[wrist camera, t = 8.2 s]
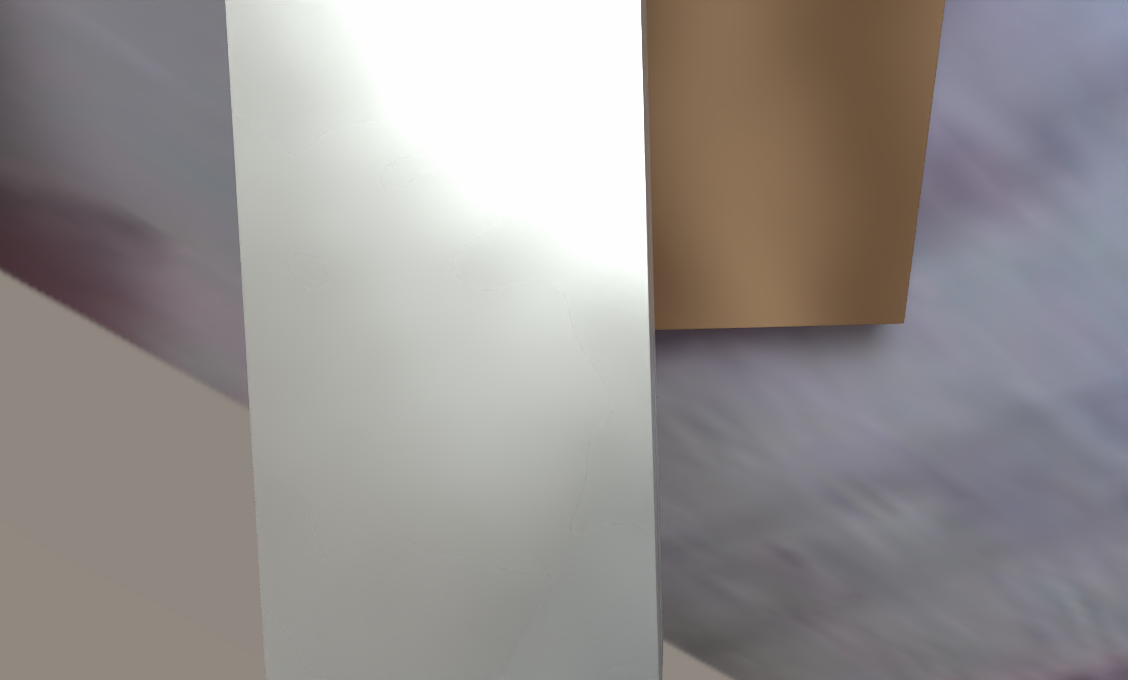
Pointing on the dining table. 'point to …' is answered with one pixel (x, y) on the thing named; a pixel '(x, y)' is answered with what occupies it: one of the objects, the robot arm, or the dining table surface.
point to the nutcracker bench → (787, 158)
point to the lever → (450, 336)
